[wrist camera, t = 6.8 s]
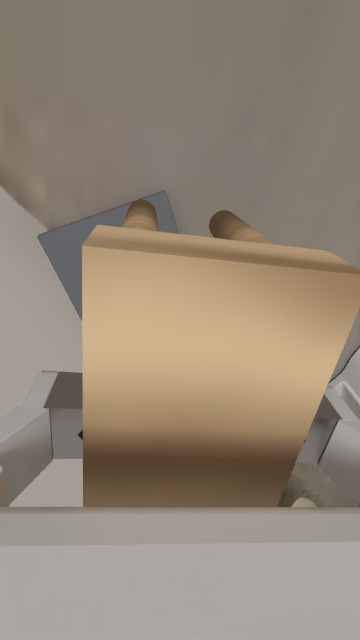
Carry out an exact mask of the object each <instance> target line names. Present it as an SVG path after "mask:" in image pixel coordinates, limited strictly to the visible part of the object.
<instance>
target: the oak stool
mask: <svg viewBox="0 0 360 640" xmlns="http://www.w3.org/2000/svg"><path fill="white" fill-rule="evenodd" d="M209 228H210V232H211V233H212V235H213V236H214V238H210V237H201V236H193V235H184V234H175V233H166V232H159V230H158V221H157V213H156V209H155V207H154V206H153V205H152V204H151V203H150V202H148V201H146V200H137V201H135V202H133V203H132V204H131V205H130V207H129V208H128V211H127V214H126V216H125V219H124V222H123V224H122V227H114V226H105V225H97V226H96V227H95V228H94V230H93V231H92V232H91V234H90V235H89V237H88V238H87V239H86V241H85V242H84V244H83V245H82V330H83V331H82V345H83V346H82V351H83V352H82V353H83V507H277V506H278V503H279V501H280V499H281V496H282V494H283V491H284V489H285V486H286V484H287V482H288V479H289V477H290V474H291V472H292V470H293V467H294V465H295V462H296V460H297V458H298V455H299V453H300V450H301V448H302V446H303V443H304V441H305V438H306V436H307V433H308V431H309V429H310V426H311V424H312V421H313V419H314V417H315V414H316V412H317V409H318V407H319V405H320V402H321V400H322V397H323V395H324V393H325V390H326V388H327V385H328V383H329V381H330V378H331V376H332V373H333V371H334V368H335V366H336V364H337V361H338V359H339V356H340V354H341V352H342V349H343V347H344V344H345V342H346V340H347V337H348V335H349V332H350V330H351V328H352V325H353V323H354V320H355V318H356V315H357V313H358V311H359V308H360V269H359V268H357V267H355V266H354V265H352V264H350V263H348V262H346V261H345V260H343V259H341V258H339V257H337V256H336V255H334V254H332V253H330V252H328V251H324V250H316V249H307V248H298V247H289V246H280V245H275V244H274V243H273V242H271V241H270V240H268V239H267V238H266V237H264V236H263V235H262V234H260V233H259V232H258V231H256V230H255V229H253V228H252V227H251V226H249V225H248V224H247V223H245V222H244V221H243V220H241V219H240V218H238V217H237V216H236V215H234V214H233V213H232V212H230V211H227V210H222V211H219V212H217V213H215V214H214V215H213V217H212V218H211V220H210V224H209Z"/></svg>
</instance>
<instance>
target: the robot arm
mask: <svg viewBox="0 0 360 640" xmlns="http://www.w3.org/2000/svg"><path fill="white" fill-rule="evenodd" d="M69 458H70V459H72V458H74V459H75V458H76V459H77V458H83V373H73V372H57V371H41V372H40V373H39V375H38V377H37V379H36V381H35V383H34V385H33V387H32V388H31V390H30V392H29V394H28V396H27V398H26V400H25V402H24V404H23V406H22V407H16V408H14V409H13V410H11V411H10V412H8V413H6V414H5V415H3V416H1V417H0V640H360V507H9V504H10V503H11V502H12V501H13V500H14V499H15V498H16V497H17V496H18V495H19V494H20V493H21V492H22V491H23V490H24V489H25V488H26V487H27V486H28V485H29V484H30V483H31V482H32V481H33V480H34V479H35V478H36V477H37V476H38V475H39V474H40V472H42V471H43V470H44V469H45V468H46V467H47V465H48V464H50V463H51V461H52V459H69ZM295 463H309V464H318V466H319V467H320V468H322V469H323V470H324V471H325V472H326V473H327V474H328V475H329V476H330V477H331V478H332V479H333V480H334V481H335V482H336V483H337V484H338V485H339V486H341V487H342V488H343V489H344V490H345V491H346V492H347V493H348V494H349V495H350V496H351V497H352V498H353V499H354V500H355V501H356V502H357V503H358V504H360V348H359V349H358V350H357V352H356V353H355V354H354V355H353V356H352V358H351V359H350V361H349V363H348V364H347V366H346V367H345V369H344V370H343V372H342V373H341V374H340V375H339V376H337V377H336V378H335V379H334V380H333V381H331V382H330V383H329V384H328V385H327V388H326V390H325V393H324V395H323V397H322V400H321V402H320V405H319V407H318V409H317V412H316V414H315V417H314V419H313V421H312V424H311V426H310V429H309V431H308V433H307V436H306V438H305V441H304V443H303V446H302V448H301V450H300V453H299V455H298V458H297V460H296V462H295Z"/></svg>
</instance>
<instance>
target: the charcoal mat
mask: <svg viewBox="0 0 360 640" xmlns="http://www.w3.org/2000/svg"><path fill="white" fill-rule="evenodd" d="M139 200H146V201H148V202H150V203H151V204H152V205H153V206H154V207H155V209H156V213H157V221H158V230H159V232H166V233H175V234H178V230H177V227H176V224H175V221H174V218H173V215H172V211H171V208H170V205H169V202H168V199H167V196H166V193H165V190H164V191H161V192H158V193H156V194H153V195H150V196H147V197H144V198H141V199H139ZM136 201H137V200H136ZM133 202H135V201H133ZM133 202H130V203H127V204H124V205H122V206H119V207H116V208H113V209H110V210H107V211H105V212H102V213H99V214H96V215H93V216H90V217H87V218H85V219H82V220H79V221H76V222H73V223H70V224H68V225H65V226H62V227H59V228H56V229H53V230H51V231H48V232H45V233H42V234H40V235H38V236H37V237H38V239H39V241H40V243H41V245H42V247H43V249H44V251H45V253H46V254H47V256H48V258H49V260H50V262H51V264H52V266H53V268H54V270H55V271H56V273H57V275H58V277H59V279H60V281H61V283H62V285H63V286H64V288H65V290H66V292H67V294H68V296H69V298H70V300H71V301H72V303H73V305H74V307H75V309H76V311H77V313H78V315H79V317H80V318H81V320H82V245H83V244H84V242H85V241H86V239H87V238H88V237H89V235H90V234H91V232H92V231H93V230H94V228H95V227H96V226H97V225H105V226H114V227H122V224H123V222H124V219H125V216H126V214H127V211H128V208H129V207H130V205H131V204H132V203H133Z"/></svg>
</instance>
